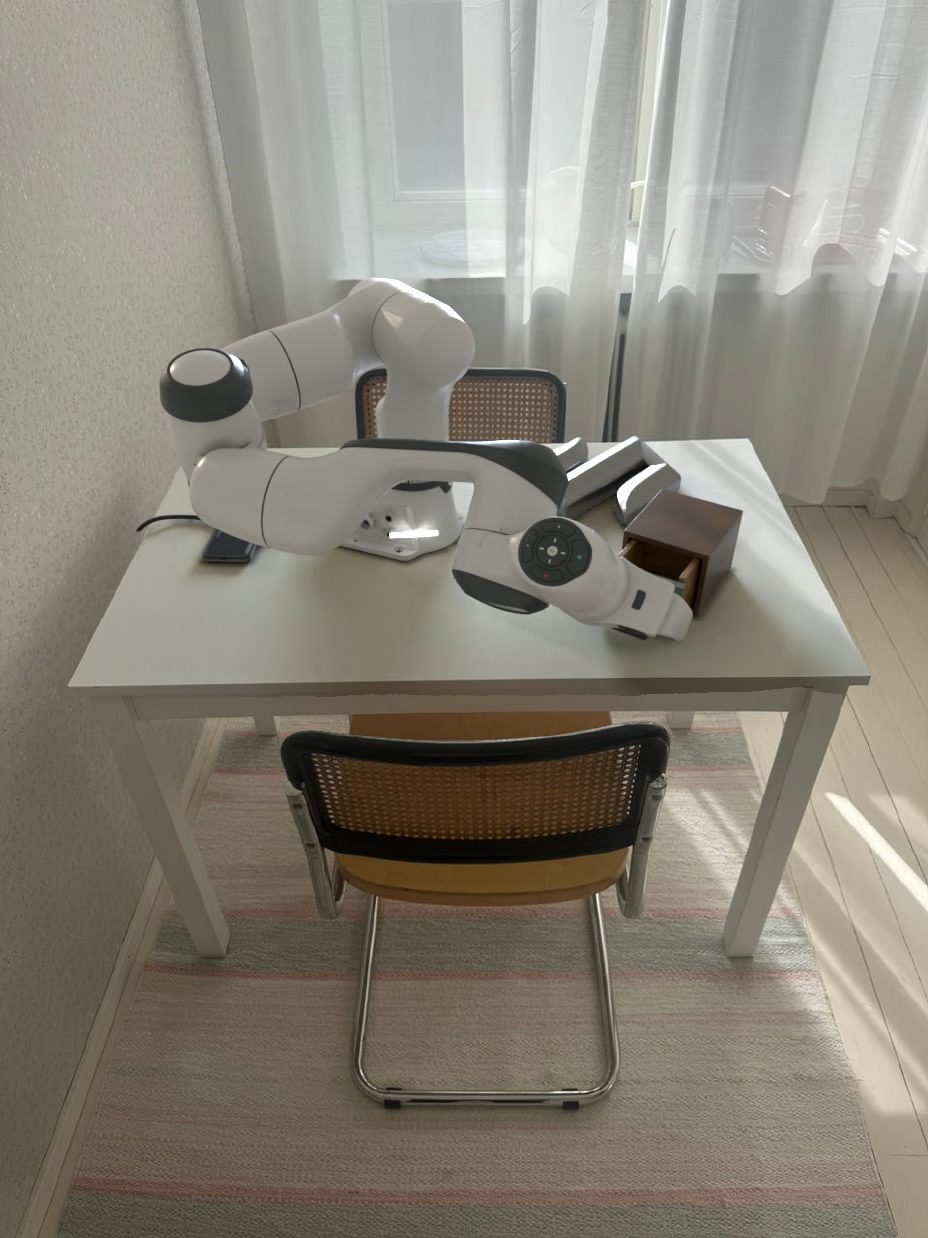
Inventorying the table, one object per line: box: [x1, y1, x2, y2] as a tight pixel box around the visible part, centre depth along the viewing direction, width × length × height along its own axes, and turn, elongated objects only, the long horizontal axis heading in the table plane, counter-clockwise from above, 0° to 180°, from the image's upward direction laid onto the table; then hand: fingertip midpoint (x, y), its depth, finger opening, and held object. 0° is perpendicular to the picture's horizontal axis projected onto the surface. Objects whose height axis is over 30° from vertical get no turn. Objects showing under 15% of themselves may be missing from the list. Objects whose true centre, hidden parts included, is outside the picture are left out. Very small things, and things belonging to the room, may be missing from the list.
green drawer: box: [607, 538, 703, 642], centre depth 117 cm, size 17×11×9 cm, turn 147°
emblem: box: [552, 435, 682, 527], centre depth 148 cm, size 28×5×28 cm
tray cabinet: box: [621, 489, 744, 618], centre depth 124 cm, size 14×13×11 cm
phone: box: [201, 528, 259, 564], centre depth 139 cm, size 8×1×15 cm
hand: (621, 609), depth 109 cm, fingers closed
